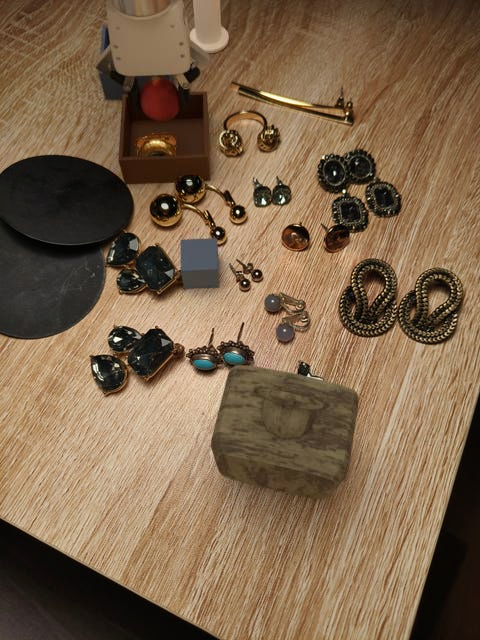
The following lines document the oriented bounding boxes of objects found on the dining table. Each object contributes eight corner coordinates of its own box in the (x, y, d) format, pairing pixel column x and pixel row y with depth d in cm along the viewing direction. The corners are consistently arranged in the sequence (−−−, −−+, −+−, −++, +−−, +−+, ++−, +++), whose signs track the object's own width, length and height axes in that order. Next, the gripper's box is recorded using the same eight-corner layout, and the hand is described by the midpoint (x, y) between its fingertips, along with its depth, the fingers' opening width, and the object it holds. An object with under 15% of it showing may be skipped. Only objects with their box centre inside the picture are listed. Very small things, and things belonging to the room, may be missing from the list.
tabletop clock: (341, 437, 74) (383, 361, 52) (330, 510, 71) (369, 463, 48) (229, 412, 76) (222, 328, 53) (211, 482, 72) (196, 424, 50)
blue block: (184, 289, 84) (180, 270, 79) (183, 258, 86) (180, 239, 82) (219, 287, 84) (218, 269, 79) (218, 257, 86) (217, 237, 82)
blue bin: (105, 99, 100) (98, 73, 95) (109, 53, 105) (102, 25, 100) (172, 97, 100) (168, 70, 95) (172, 50, 105) (169, 23, 100)
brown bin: (124, 184, 92) (118, 160, 87) (128, 120, 98) (122, 94, 93) (210, 181, 92) (208, 156, 87) (208, 117, 98) (206, 91, 93)
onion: (166, 99, 91) (159, 55, 84) (190, 119, 89) (186, 76, 82) (136, 118, 89) (126, 75, 82) (160, 140, 87) (152, 97, 80)
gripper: (213, -35, 72) (219, 84, 88) (70, -29, 72) (103, 88, 88) (214, 7, 69) (220, 122, 85) (65, 12, 69) (100, 126, 85)
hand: (160, 104), depth 86 cm, fingers closed on onion, 5 cm apart
